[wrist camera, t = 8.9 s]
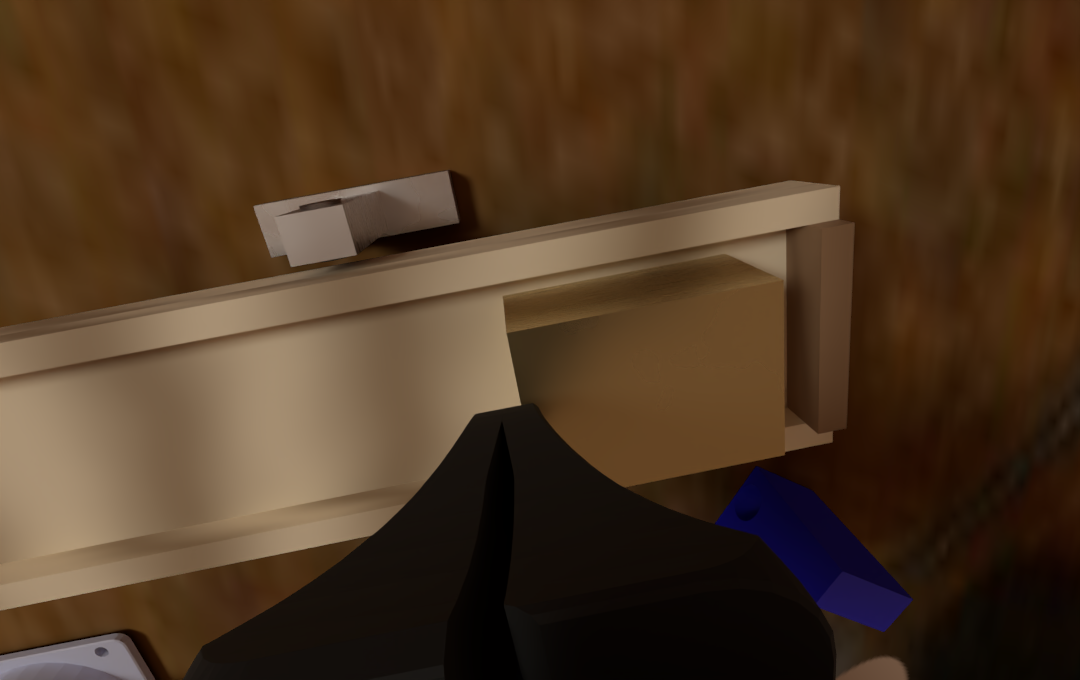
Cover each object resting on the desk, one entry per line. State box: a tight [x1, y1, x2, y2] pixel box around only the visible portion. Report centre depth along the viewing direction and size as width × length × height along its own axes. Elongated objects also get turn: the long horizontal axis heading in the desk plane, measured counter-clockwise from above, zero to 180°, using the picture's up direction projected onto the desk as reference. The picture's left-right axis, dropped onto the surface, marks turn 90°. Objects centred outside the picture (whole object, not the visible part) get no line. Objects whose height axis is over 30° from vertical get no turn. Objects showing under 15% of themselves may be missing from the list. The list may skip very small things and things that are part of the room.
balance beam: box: [0, 181, 855, 610], centre depth 14 cm, size 25×7×3 cm, turn 100°
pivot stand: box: [253, 170, 461, 267], centre depth 17 cm, size 6×11×5 cm, turn 10°
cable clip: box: [715, 466, 913, 632], centre depth 22 cm, size 12×4×6 cm, turn 153°
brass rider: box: [503, 254, 785, 487], centre depth 13 cm, size 6×4×3 cm
